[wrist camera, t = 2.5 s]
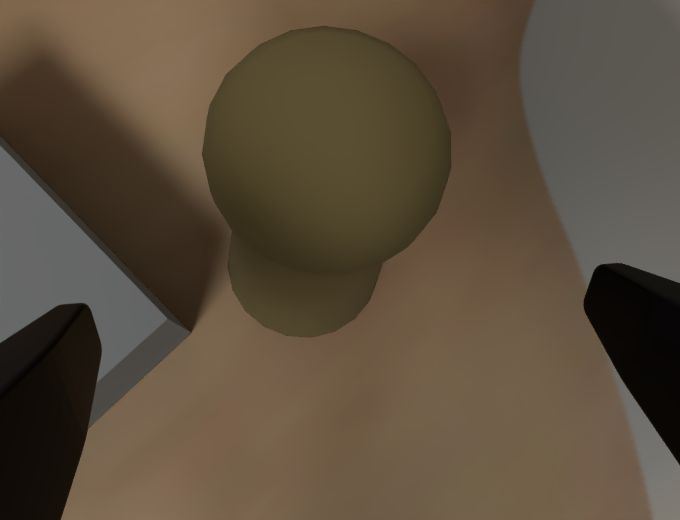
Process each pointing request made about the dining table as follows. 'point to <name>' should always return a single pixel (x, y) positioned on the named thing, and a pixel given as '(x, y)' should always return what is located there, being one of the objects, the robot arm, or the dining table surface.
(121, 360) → the podium
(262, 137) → the cork
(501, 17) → the dining table surface
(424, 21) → the dining table surface
